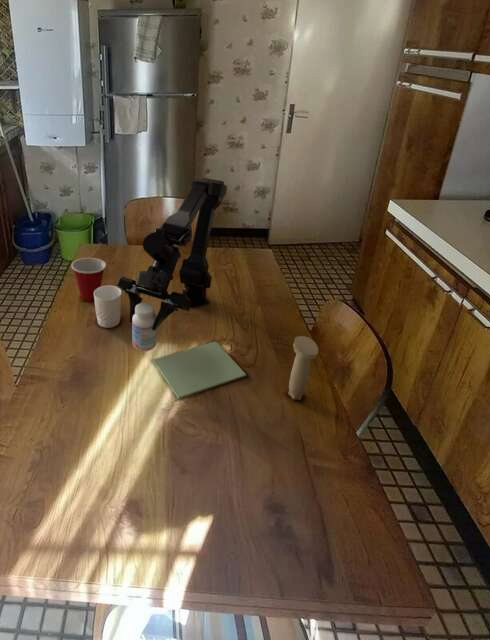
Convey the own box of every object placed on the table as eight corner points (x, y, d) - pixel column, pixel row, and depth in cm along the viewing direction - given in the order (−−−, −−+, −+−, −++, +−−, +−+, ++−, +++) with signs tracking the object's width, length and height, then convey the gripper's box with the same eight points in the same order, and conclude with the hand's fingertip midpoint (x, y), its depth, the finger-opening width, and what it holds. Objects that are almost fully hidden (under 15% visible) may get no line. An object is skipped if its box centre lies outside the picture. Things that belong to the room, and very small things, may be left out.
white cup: (118, 331, 124) (117, 301, 120) (91, 327, 126) (90, 298, 121) (124, 315, 131) (124, 286, 127) (99, 311, 133) (98, 283, 128)
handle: (301, 386, 106) (312, 336, 99) (309, 406, 100) (321, 355, 94) (281, 385, 106) (291, 335, 99) (288, 405, 100) (299, 354, 94)
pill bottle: (131, 337, 113) (130, 301, 108) (154, 335, 114) (154, 299, 109) (134, 353, 107) (133, 316, 102) (158, 350, 108) (159, 313, 103)
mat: (216, 342, 120) (216, 341, 120) (245, 376, 109) (246, 374, 108) (153, 361, 113) (153, 359, 113) (178, 399, 102) (178, 397, 101)
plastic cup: (113, 292, 143) (112, 259, 138) (96, 309, 134) (94, 275, 129) (85, 284, 147) (83, 252, 142) (66, 300, 138) (64, 267, 133)
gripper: (119, 248, 107) (95, 308, 103) (188, 266, 99) (166, 332, 95) (135, 262, 117) (114, 317, 113) (200, 280, 109) (179, 340, 105)
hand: (141, 326), depth 106 cm, fingers closed on pill bottle, 6 cm apart
